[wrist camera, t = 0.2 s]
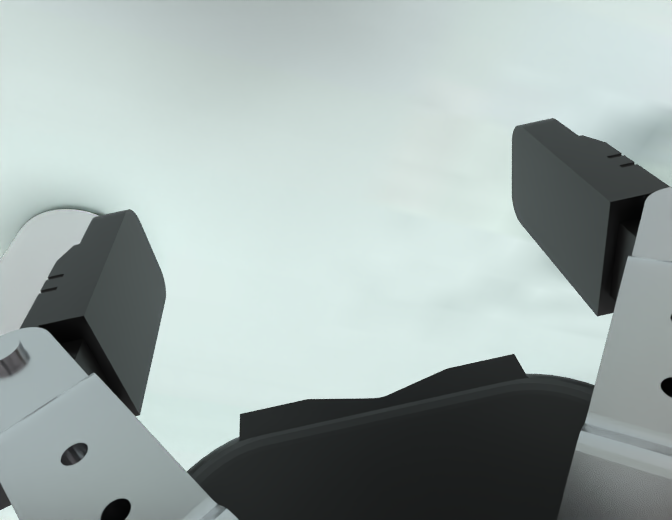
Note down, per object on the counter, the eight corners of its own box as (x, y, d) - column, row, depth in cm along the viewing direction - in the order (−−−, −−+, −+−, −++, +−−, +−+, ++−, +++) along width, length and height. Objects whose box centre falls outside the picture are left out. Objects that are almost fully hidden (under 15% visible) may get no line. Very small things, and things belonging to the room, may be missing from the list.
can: (7, 280, 32) (-97, 461, 22) (28, 187, 29) (-82, 351, 19) (122, 310, 34) (73, 486, 24) (153, 227, 31) (111, 391, 21)
